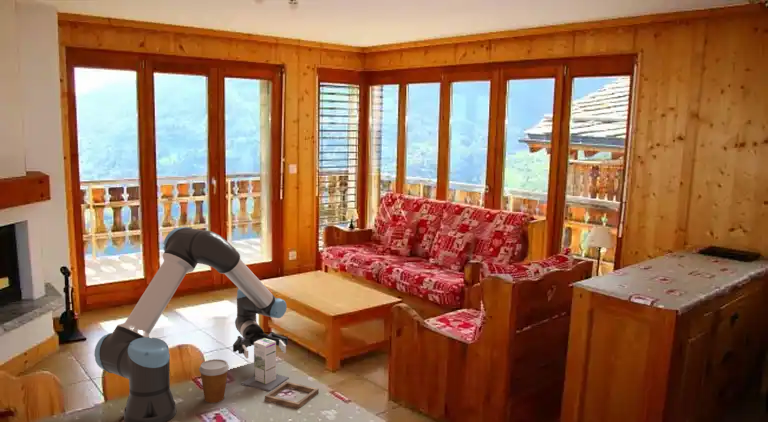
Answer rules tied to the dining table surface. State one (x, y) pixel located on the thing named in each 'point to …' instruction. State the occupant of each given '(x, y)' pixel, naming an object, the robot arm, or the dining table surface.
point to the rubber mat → (268, 386)
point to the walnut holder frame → (273, 399)
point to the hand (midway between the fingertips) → (266, 352)
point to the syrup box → (265, 360)
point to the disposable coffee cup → (214, 379)
